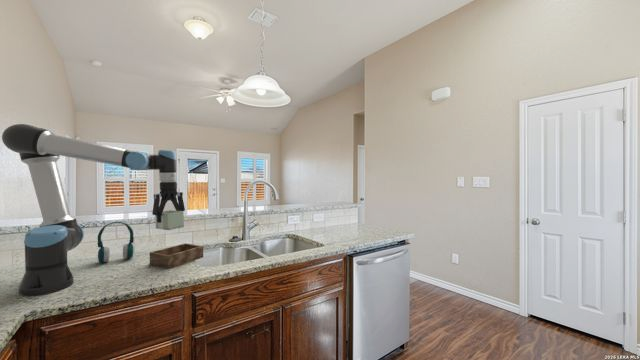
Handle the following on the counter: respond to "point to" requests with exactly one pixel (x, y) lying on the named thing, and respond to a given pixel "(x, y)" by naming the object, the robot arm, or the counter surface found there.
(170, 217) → the small crate
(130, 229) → the headphones
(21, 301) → the counter surface
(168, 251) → the big crate
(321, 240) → the counter surface
